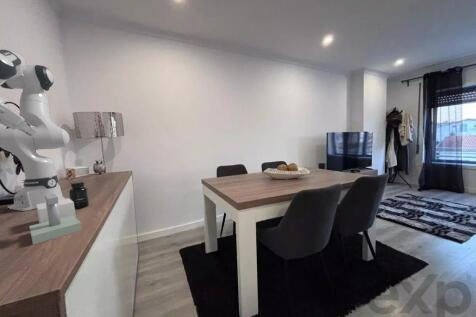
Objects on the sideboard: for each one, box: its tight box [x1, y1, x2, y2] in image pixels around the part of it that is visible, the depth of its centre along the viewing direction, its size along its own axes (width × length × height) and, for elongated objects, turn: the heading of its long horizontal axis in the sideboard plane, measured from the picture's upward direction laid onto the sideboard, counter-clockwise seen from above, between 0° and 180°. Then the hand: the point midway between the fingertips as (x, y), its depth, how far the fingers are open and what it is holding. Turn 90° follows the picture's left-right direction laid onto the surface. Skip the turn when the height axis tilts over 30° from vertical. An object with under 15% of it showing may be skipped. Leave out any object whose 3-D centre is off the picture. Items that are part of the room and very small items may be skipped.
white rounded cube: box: [36, 197, 77, 224], centre depth 80 cm, size 10×10×7 cm
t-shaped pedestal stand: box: [29, 194, 83, 245], centre depth 70 cm, size 12×12×13 cm
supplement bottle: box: [68, 181, 90, 210], centre depth 96 cm, size 7×7×12 cm
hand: (33, 134), depth 76 cm, fingers open, 8 cm apart
